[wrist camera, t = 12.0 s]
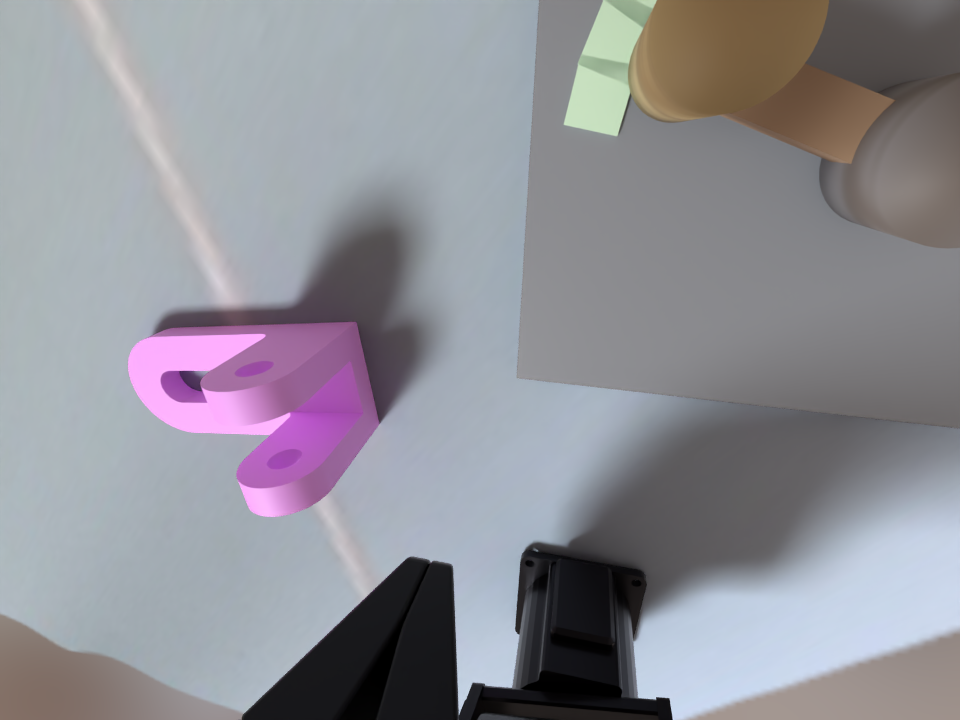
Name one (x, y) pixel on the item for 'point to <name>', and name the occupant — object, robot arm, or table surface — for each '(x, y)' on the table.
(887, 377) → the dial board
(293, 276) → the table surface
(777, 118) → the peg lever
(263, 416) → the bracket
